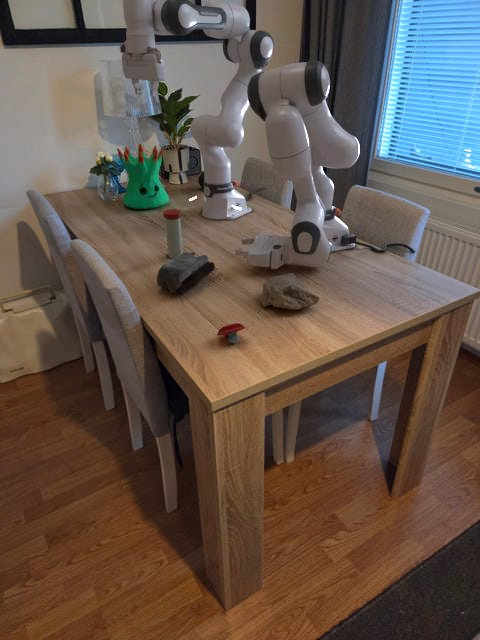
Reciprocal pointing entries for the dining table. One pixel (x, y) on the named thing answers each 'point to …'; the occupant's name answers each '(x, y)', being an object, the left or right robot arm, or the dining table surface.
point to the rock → (184, 272)
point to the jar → (174, 237)
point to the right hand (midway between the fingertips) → (238, 246)
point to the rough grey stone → (287, 293)
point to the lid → (172, 214)
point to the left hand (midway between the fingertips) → (146, 95)
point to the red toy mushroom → (231, 331)
